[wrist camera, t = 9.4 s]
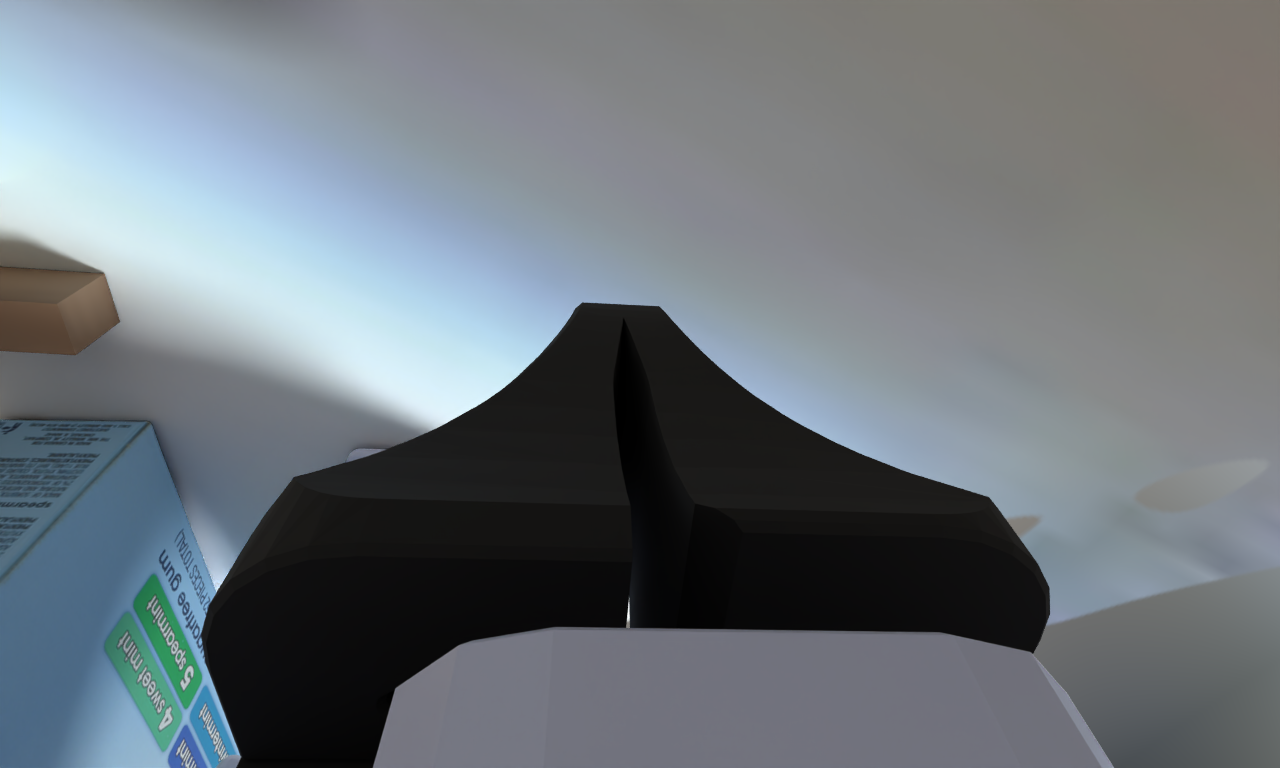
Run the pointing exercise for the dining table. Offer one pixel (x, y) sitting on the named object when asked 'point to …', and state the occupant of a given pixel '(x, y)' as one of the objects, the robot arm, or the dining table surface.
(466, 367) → the dining table surface
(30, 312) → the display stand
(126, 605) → the gum box
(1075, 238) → the dining table surface
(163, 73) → the dining table surface
